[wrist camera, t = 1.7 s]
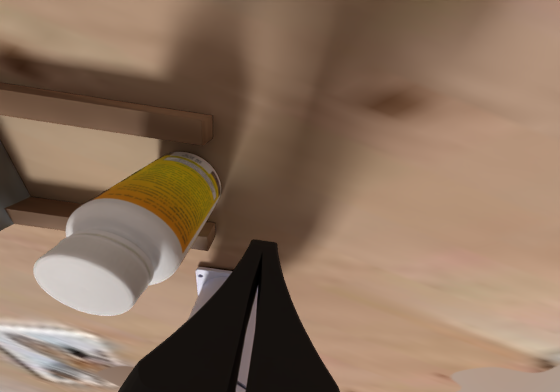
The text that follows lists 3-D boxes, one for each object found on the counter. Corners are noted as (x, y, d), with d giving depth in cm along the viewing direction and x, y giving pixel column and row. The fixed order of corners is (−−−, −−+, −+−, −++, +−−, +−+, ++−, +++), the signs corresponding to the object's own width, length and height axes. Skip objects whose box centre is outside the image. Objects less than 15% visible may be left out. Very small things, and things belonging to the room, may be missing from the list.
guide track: (215, 236, 20) (193, 279, 16) (16, 207, 20) (-61, 244, 15) (212, 115, 15) (178, 131, 10) (-64, 72, 14) (-220, 70, 10)
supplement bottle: (165, 136, 16) (-3, 212, 7) (233, 170, 17) (165, 275, 8) (150, 192, 18) (15, 301, 9) (210, 218, 19) (140, 339, 10)
